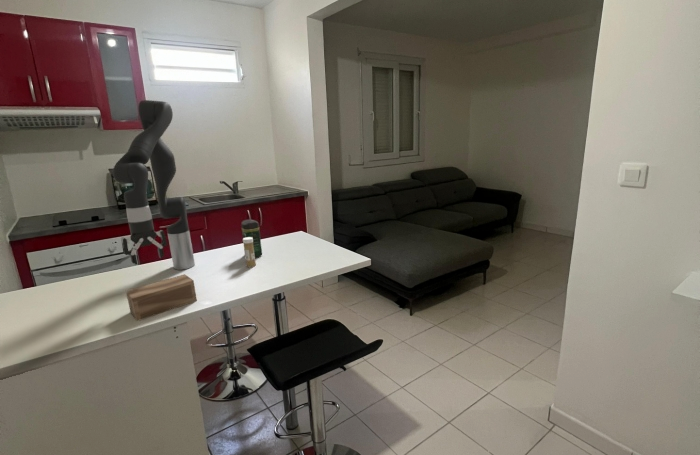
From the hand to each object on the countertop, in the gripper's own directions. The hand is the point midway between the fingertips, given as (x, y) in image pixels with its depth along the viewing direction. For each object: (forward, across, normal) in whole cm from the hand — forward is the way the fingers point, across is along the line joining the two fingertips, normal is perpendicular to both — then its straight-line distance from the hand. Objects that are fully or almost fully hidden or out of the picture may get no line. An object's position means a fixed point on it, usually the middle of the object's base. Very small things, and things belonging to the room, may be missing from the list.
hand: (148, 260), depth 132 cm
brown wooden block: (+15, 0, +10) cm, 18 cm away
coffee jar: (+16, -50, -16) cm, 55 cm away
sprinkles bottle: (+16, -42, -4) cm, 45 cm away
